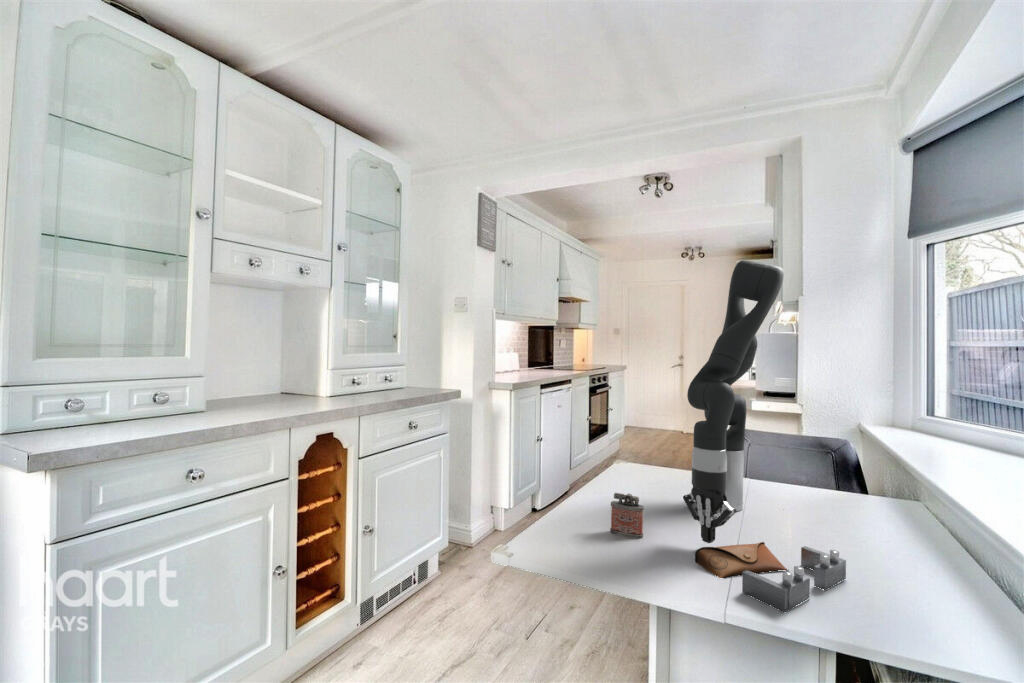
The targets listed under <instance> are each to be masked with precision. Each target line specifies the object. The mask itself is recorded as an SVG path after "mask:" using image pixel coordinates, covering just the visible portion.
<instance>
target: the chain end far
mask: <svg viewBox="0 0 1024 683" xmlns="http://www.w3.org/2000/svg"><path fill="white" fill-rule="evenodd" d="M802 566H804V567H803V568H805V567H808V568H811V569H813V570H814V571H813V570H812V571H813V572H814V574H813V587H814V586H816V587H819V588H821V589H824V590H826V589H828V588H830V587H831V586H833V585H835V584H837V583H838V582H840V581H842V580H844V579H846V580H847V559H844V558H841V557H840V551H838V550H835V549H830V550H829V553H826V552H823V551H821V550H817V549H815V548H812V547H809V546H806V545H804V546H802V547H801V549H800V567H802ZM808 568H807V569H808ZM837 585H838V584H837ZM835 586H836V585H835ZM816 587H815V588H816ZM819 588H818V589H819ZM821 589H820V590H821ZM830 589H831V588H830ZM828 590H829V589H828ZM826 591H827V590H826Z"/></svg>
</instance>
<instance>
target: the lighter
mask: <svg viewBox="0 0 1024 683" xmlns="http://www.w3.org/2000/svg"><path fill="white" fill-rule="evenodd" d="M613 499H614V500H611V501H610V506H611V510H610V511H611V512H610V515H611V517H610V519H611V520H610V532H609V533H610V534H611V535H615V536H620V537H623V538H630V539H638V540H639V539H643V538H644V533H643V529H644V528H643V526H644V520H643V518H644V510H645V508H644V505H643V504H640V497H639V496H635V495H633V494H631V493H627V494H624V493H620V492H619V493H618V492H614V494H613ZM615 499H616V500H615Z"/></svg>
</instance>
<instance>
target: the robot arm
mask: <svg viewBox="0 0 1024 683" xmlns="http://www.w3.org/2000/svg"><path fill="white" fill-rule="evenodd" d="M731 274H732V275H731V277H730V284H729V290H728V297H727V305H726V314H725V317H724V318H725V320H724V322H723V326H722V327H723V329H722V331H721V333H720V335H719V336H718V337H717V339H716V342H715V343H714V346H713V348H712V351H711V352H710V355H709V357H708V360H707V361H706V363H705V364H704V365H703V366H702V367H701V368H700V370H699V371H698V372H697V374H696V375H695V376H694V378H692V380H691V382H690V383H689V386H688V388H687V397H686V398H687V401H688V403H689V405H690V406H691V407H692V408H694V409H697V410H700V411H703V412H704V417H705V420H699V421H697V422H695V424H694V426H693V446H692V453H691V485H692V488H691V491H690V493H687V494H684V495H683V496H682V498H683V502H684V503H685V505H686V507H687V508H688V510H689V512H690V514H691V517H692V518H693V519H694V520H695V521H698V522H699V524H700V537H701V540H702V541H703V542H704V543H706V544H711V543H714V541H715V540H716V531H717V530H716V528H719V527H722V526H724V525H725V524H726V523H727V522H728V521H729V520H730V519H731V518H732V517H733V516H734V515H735V514H736V512H739V511H740V512H741V511H742V510H743V508H744V505H743V504H744V501H743V500H744V464H745V462H744V460H745V458H744V457H745V456H744V455H745V453H744V452H745V450H744V449H745V439H746V438H745V437H746V436H745V435H746V422H747V421H746V420H747V402H746V399H745V397H744V396H743V395H742V394H738V393H735V392H734V390H733V388H732V386H733V384H735V383H736V382H737V381H738V380H739V379H741V378H742V377H743V376H744V375H746V373H747V372H749V370H750V369H751V367H752V366H753V363H754V360H755V357H756V354H757V350H758V339H757V335H756V334H757V333H758V331H759V329H760V328H761V325H762V324H763V323H764V321H765V319H766V318H767V316H768V313H769V312H770V311H771V308H772V307H773V305H774V304H775V301H776V299H777V297H778V296H779V293H780V291H781V289H782V285H783V282H784V277H785V276H784V275H785V274H784V269H783V268H782V267H779V266H778V265H777V266H776V265H772V264H767V263H762V262H757V261H753V260H752V261H751V260H743V259H742V260H740V261H738V262H737V263H736V265H735V267H734V269H733V271H732V273H731ZM745 300H748V301H754V302H756V303H755V304H756V305H754V307H753V308H752V309H751V311H749V312H748V313H746V309H745ZM720 511H721V513H720Z"/></svg>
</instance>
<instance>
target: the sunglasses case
mask: <svg viewBox="0 0 1024 683" xmlns="http://www.w3.org/2000/svg"><path fill="white" fill-rule="evenodd" d="M765 544H766V543H765V541H761V542H757V543H746V544H744V543H743V544H734V545H733V544H731V545H724V546H723V545H722V546H702V547H700V548H698V549H697V550H696V551H695V553H694V562H695V564H697V565H699V567H701V568H703V569H705V570H706V571H708V572H709V573H710V572H711V574H712V573H713V574H714V575H713V574H712V575H713V576H715V575H716V576H715V577H717V576H718V577H719V578H724V579H727V577H728V578H732V576H733V577H739V576H738V575H740V576H743V572H744V571H746V570H748V571H750V572H753V573H758V574H763V573H762V572H768V573H770V572H769V571H778V570H787V569H788V568H786V567H785V566H784V565H783V564H782V562H781V561H780V560H779V559H778V558H777V556H775V555H774V553H772V551H771V550H770V548H769V547H767V546H766V545H765ZM718 577H717V578H718ZM719 578H718V579H719Z"/></svg>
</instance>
